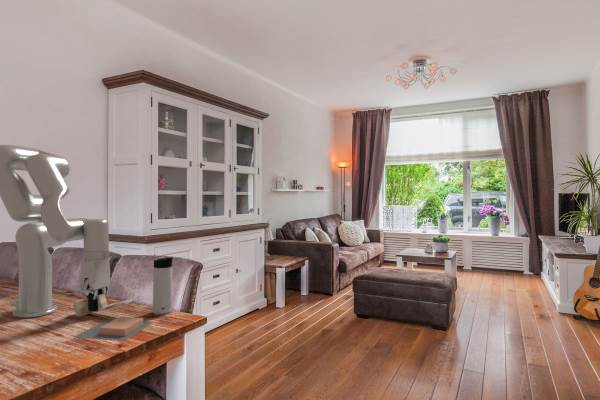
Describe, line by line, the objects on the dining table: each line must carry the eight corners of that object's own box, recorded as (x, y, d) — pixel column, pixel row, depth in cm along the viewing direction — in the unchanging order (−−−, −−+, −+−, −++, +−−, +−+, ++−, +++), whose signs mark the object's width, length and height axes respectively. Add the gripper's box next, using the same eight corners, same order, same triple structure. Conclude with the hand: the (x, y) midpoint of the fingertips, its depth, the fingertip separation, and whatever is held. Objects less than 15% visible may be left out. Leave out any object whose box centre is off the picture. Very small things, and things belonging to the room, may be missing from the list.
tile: (99, 327, 110) (125, 329, 109) (119, 316, 120) (143, 318, 119) (99, 334, 110) (125, 336, 110) (119, 323, 120) (143, 324, 119)
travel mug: (166, 317, 129) (167, 259, 128) (149, 316, 130) (149, 258, 130) (176, 312, 135) (176, 256, 135) (159, 310, 136) (160, 255, 136)
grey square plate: (73, 339, 108) (73, 337, 108) (108, 321, 124) (108, 319, 124) (125, 342, 106) (125, 340, 106) (153, 323, 122) (153, 321, 122)
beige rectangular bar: (74, 318, 127) (70, 303, 127) (84, 313, 132) (80, 299, 132) (125, 304, 124) (121, 289, 125) (133, 300, 129) (129, 286, 130)
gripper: (101, 251, 137) (101, 302, 137) (68, 259, 121) (69, 316, 121) (121, 252, 136) (121, 302, 136) (90, 259, 120) (90, 317, 120)
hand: (96, 308), depth 128 cm, fingers closed on beige rectangular bar, 3 cm apart
